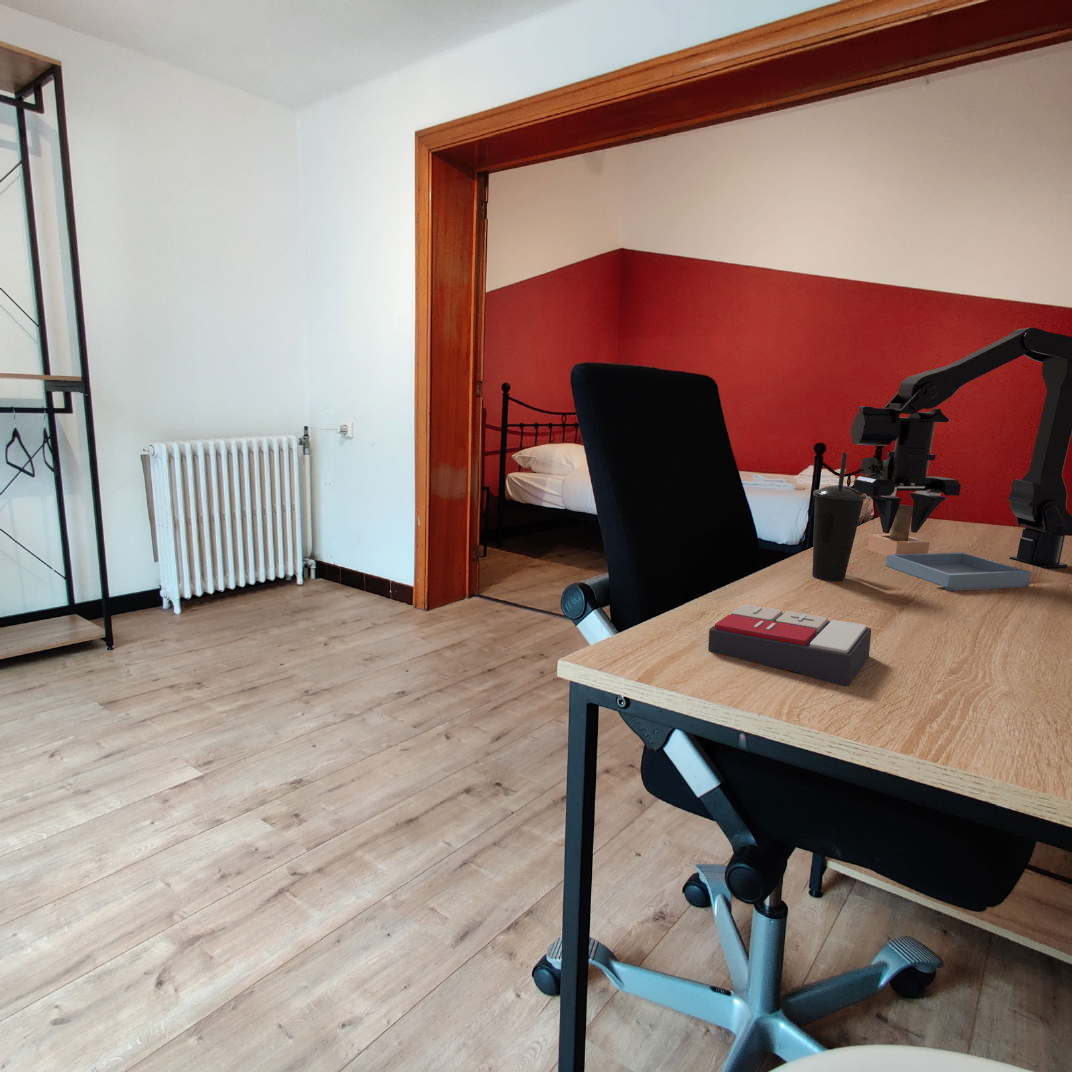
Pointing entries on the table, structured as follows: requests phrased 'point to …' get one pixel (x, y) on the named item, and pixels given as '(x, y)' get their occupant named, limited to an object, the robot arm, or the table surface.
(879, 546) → the terracotta socket
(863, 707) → the table surface
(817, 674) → the calculator
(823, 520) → the drinking cup
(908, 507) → the walnut dowel
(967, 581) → the slate tray
